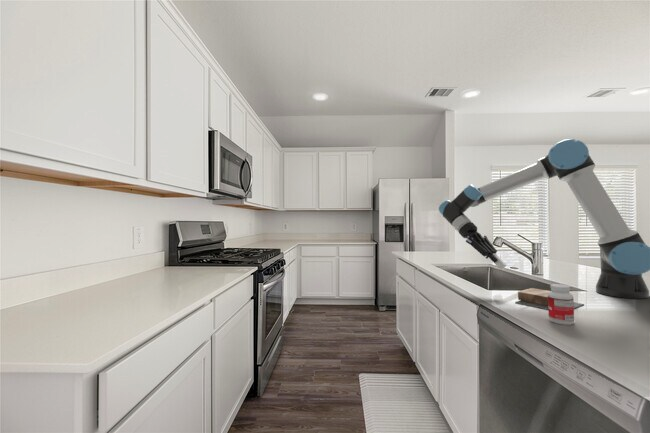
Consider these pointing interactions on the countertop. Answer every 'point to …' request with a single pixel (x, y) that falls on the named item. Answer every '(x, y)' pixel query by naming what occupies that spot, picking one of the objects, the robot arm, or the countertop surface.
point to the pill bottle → (561, 304)
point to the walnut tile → (534, 296)
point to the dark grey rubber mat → (543, 305)
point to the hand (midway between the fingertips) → (503, 267)
